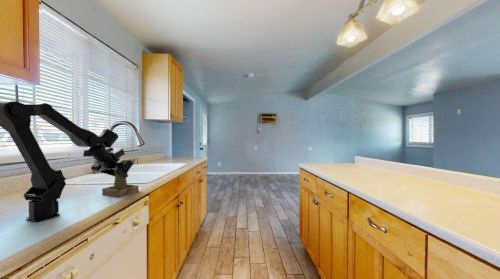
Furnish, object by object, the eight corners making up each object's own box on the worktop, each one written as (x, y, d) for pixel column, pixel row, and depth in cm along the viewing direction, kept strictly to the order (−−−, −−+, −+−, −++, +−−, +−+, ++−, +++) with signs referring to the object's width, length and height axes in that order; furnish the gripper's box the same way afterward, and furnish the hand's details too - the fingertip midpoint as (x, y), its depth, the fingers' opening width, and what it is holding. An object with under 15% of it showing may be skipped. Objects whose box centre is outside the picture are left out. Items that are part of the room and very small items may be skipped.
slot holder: (118, 197, 97) (118, 190, 97) (102, 194, 101) (102, 188, 101) (138, 191, 107) (138, 185, 107) (123, 189, 111) (123, 183, 111)
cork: (130, 190, 106) (130, 167, 106) (119, 193, 100) (119, 169, 100) (121, 188, 108) (121, 166, 108) (110, 191, 102) (109, 168, 102)
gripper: (130, 142, 98) (147, 164, 108) (97, 141, 102) (116, 162, 113) (115, 161, 90) (135, 183, 101) (80, 160, 95) (103, 180, 106)
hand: (122, 176), depth 105 cm, fingers closed on cork, 5 cm apart
